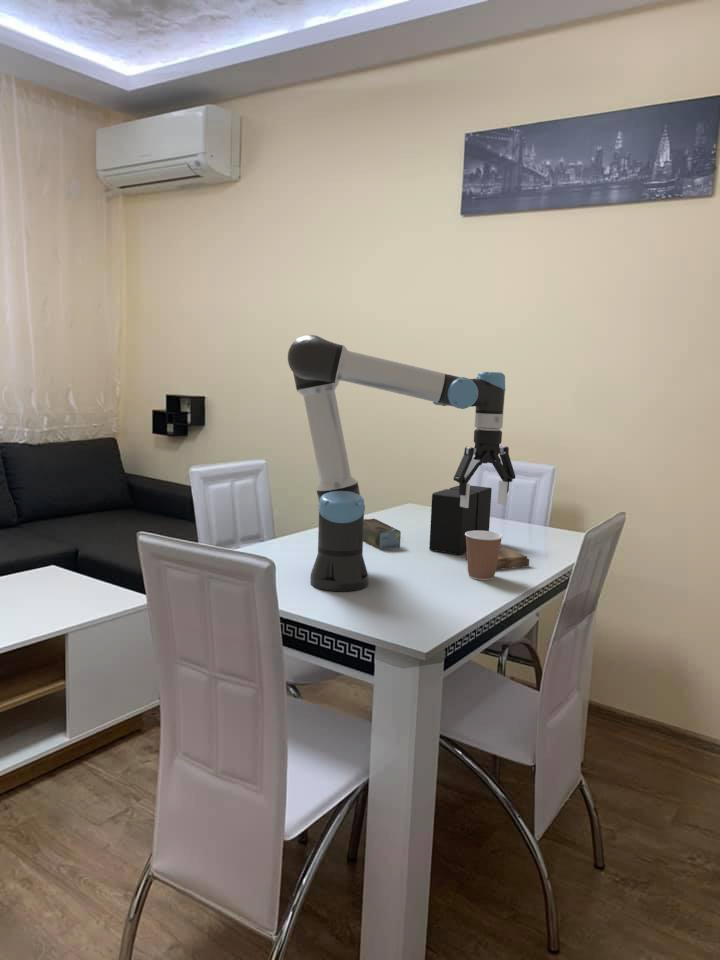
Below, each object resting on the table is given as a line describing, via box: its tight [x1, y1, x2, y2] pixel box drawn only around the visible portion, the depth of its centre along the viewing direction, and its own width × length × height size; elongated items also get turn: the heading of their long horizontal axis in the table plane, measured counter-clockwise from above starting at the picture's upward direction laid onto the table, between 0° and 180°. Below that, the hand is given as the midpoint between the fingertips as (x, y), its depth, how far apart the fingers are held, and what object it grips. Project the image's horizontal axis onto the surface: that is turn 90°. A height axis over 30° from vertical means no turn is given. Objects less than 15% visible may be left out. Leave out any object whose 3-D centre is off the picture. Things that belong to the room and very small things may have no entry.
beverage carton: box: [363, 518, 402, 551], centre depth 228 cm, size 8×19×7 cm, turn 25°
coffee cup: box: [465, 530, 504, 581], centre depth 192 cm, size 10×10×12 cm
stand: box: [465, 547, 530, 570], centre depth 208 cm, size 14×12×3 cm
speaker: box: [429, 485, 492, 556], centre depth 227 cm, size 25×11×19 cm, turn 149°
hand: (483, 505), depth 193 cm, fingers open, 13 cm apart
